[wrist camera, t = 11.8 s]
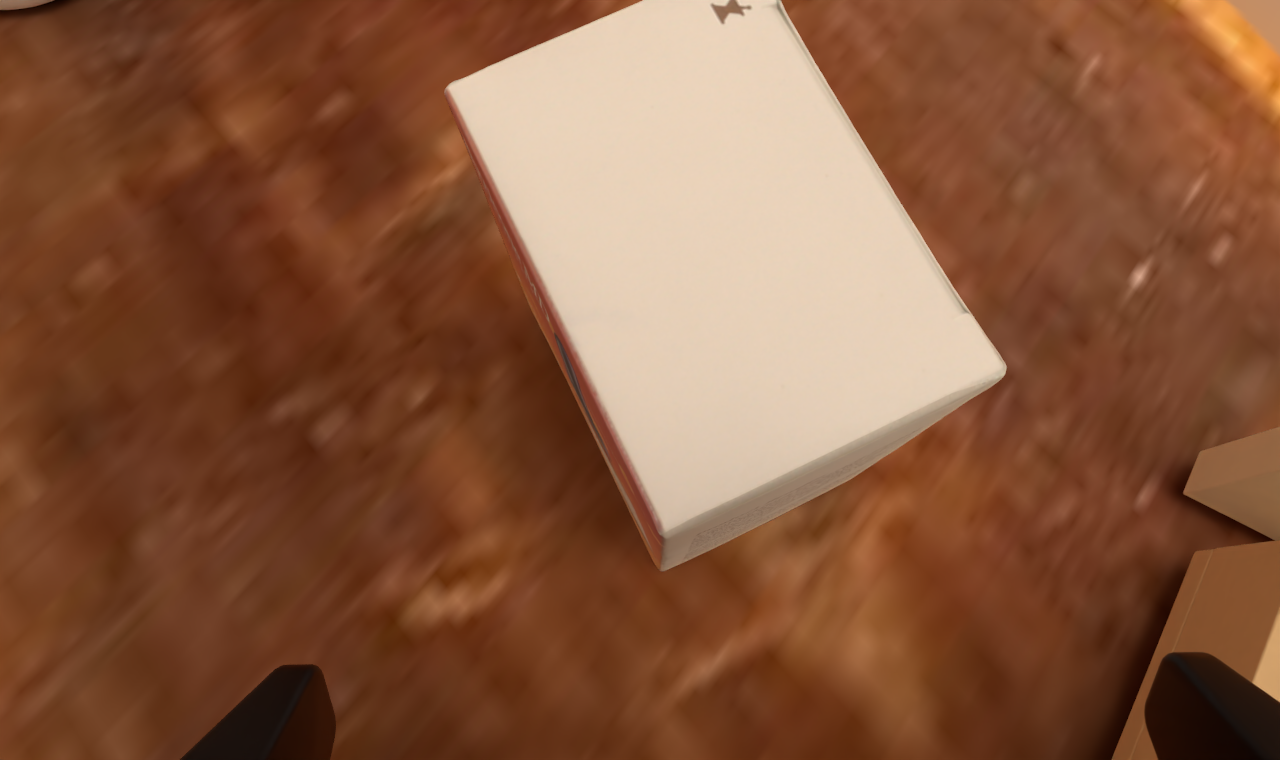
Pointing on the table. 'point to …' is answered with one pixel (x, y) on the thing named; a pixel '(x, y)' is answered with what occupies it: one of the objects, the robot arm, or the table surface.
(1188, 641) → the drawer
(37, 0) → the bath foam
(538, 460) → the table surface
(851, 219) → the small box
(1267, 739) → the robot arm
